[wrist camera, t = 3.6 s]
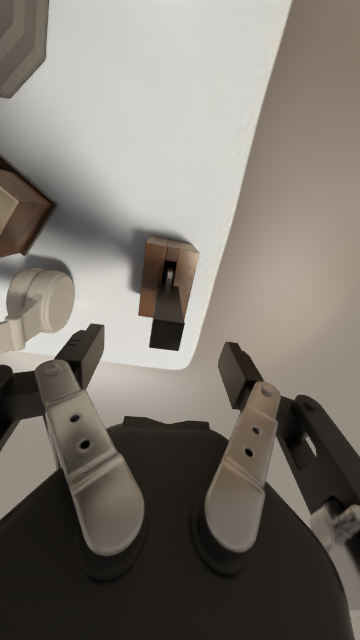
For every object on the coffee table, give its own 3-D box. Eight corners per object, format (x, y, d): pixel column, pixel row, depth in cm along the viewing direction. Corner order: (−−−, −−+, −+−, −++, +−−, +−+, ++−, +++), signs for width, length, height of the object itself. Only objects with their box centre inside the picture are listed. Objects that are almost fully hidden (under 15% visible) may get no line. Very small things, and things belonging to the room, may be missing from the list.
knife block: (150, 236, 27) (145, 242, 21) (192, 244, 28) (199, 252, 22) (143, 295, 31) (138, 315, 25) (180, 301, 32) (183, 322, 26)
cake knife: (162, 253, 28) (155, 301, 13) (177, 256, 29) (188, 306, 13) (157, 286, 31) (146, 361, 15) (171, 288, 31) (175, 364, 15)
